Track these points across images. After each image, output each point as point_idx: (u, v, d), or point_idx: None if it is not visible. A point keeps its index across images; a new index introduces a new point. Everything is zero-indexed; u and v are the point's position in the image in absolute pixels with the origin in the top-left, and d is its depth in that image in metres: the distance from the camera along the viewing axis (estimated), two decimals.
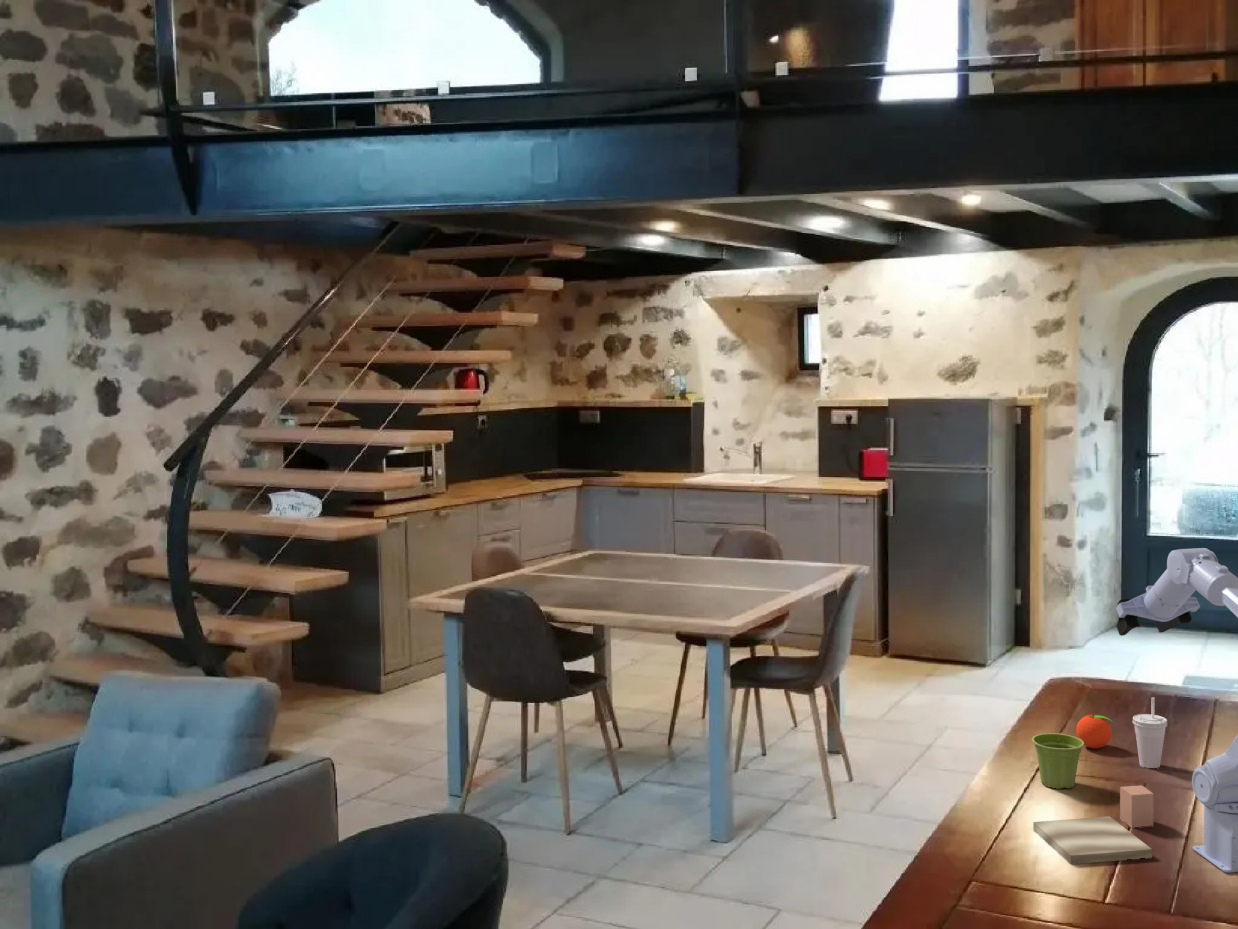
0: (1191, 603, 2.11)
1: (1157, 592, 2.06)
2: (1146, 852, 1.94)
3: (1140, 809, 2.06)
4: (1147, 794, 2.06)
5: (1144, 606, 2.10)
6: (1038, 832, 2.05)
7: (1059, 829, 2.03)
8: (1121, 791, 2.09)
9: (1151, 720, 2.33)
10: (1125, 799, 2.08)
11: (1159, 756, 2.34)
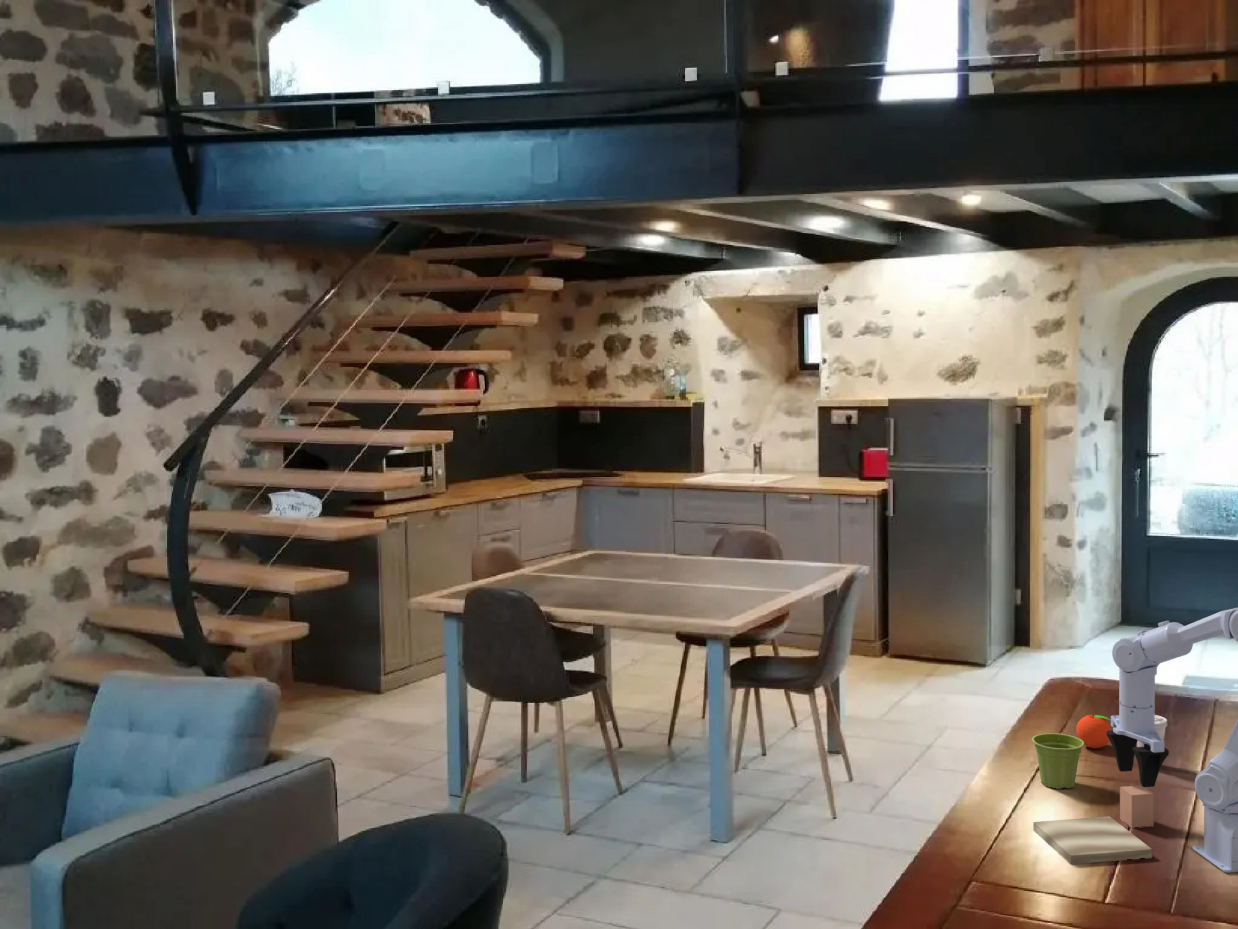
0: None
1: (1127, 702, 2.05)
2: (1146, 852, 1.94)
3: (1140, 808, 2.06)
4: (1147, 793, 2.06)
5: (1146, 733, 2.04)
6: (1038, 832, 2.05)
7: (1059, 829, 2.03)
8: (1121, 791, 2.09)
9: None
10: (1125, 799, 2.08)
11: None
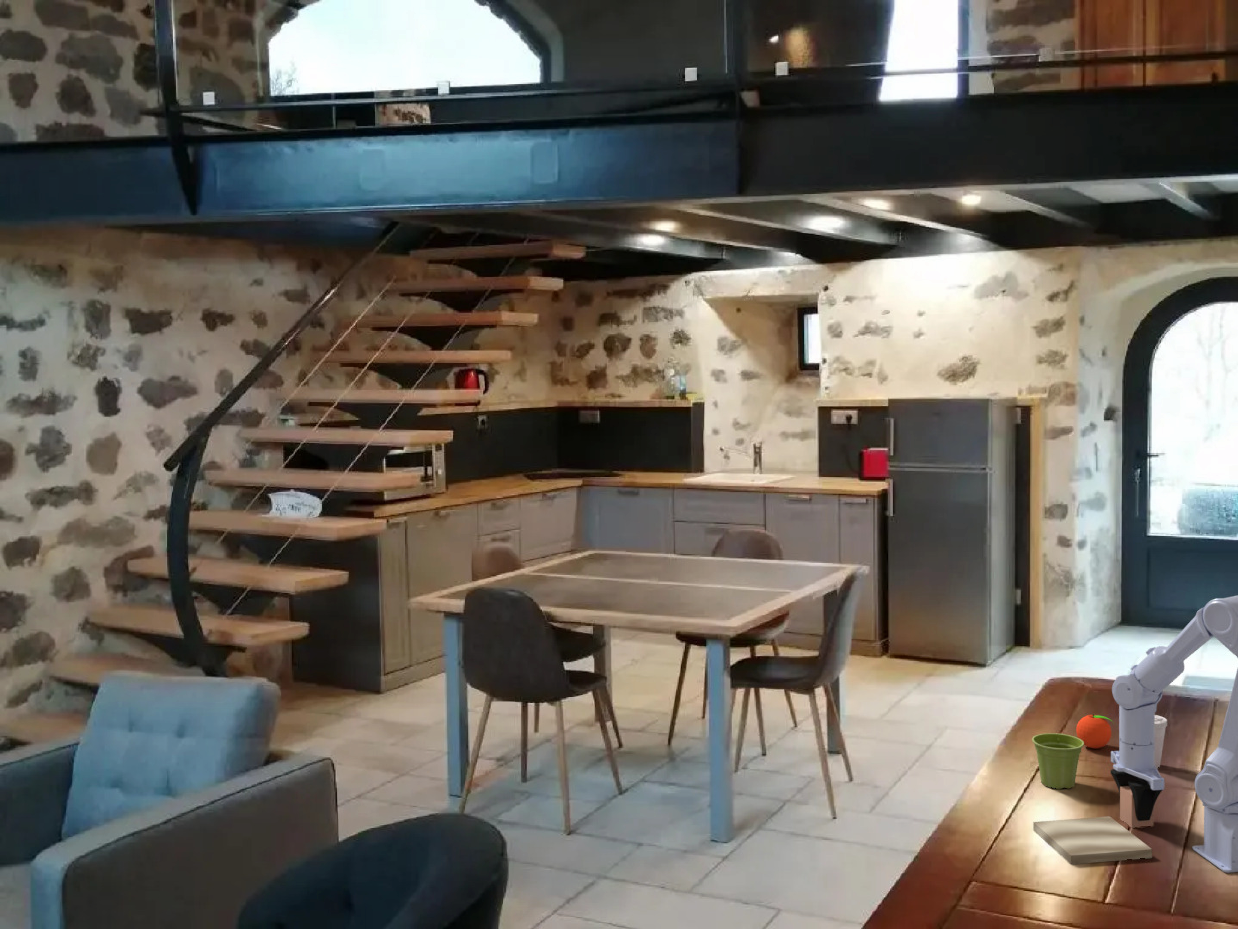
0: None
1: (1127, 739, 2.05)
2: (1146, 852, 1.94)
3: None
4: None
5: (1146, 770, 2.04)
6: (1038, 832, 2.05)
7: (1059, 829, 2.03)
8: (1121, 791, 2.09)
9: None
10: (1125, 798, 2.08)
11: (1159, 756, 2.34)
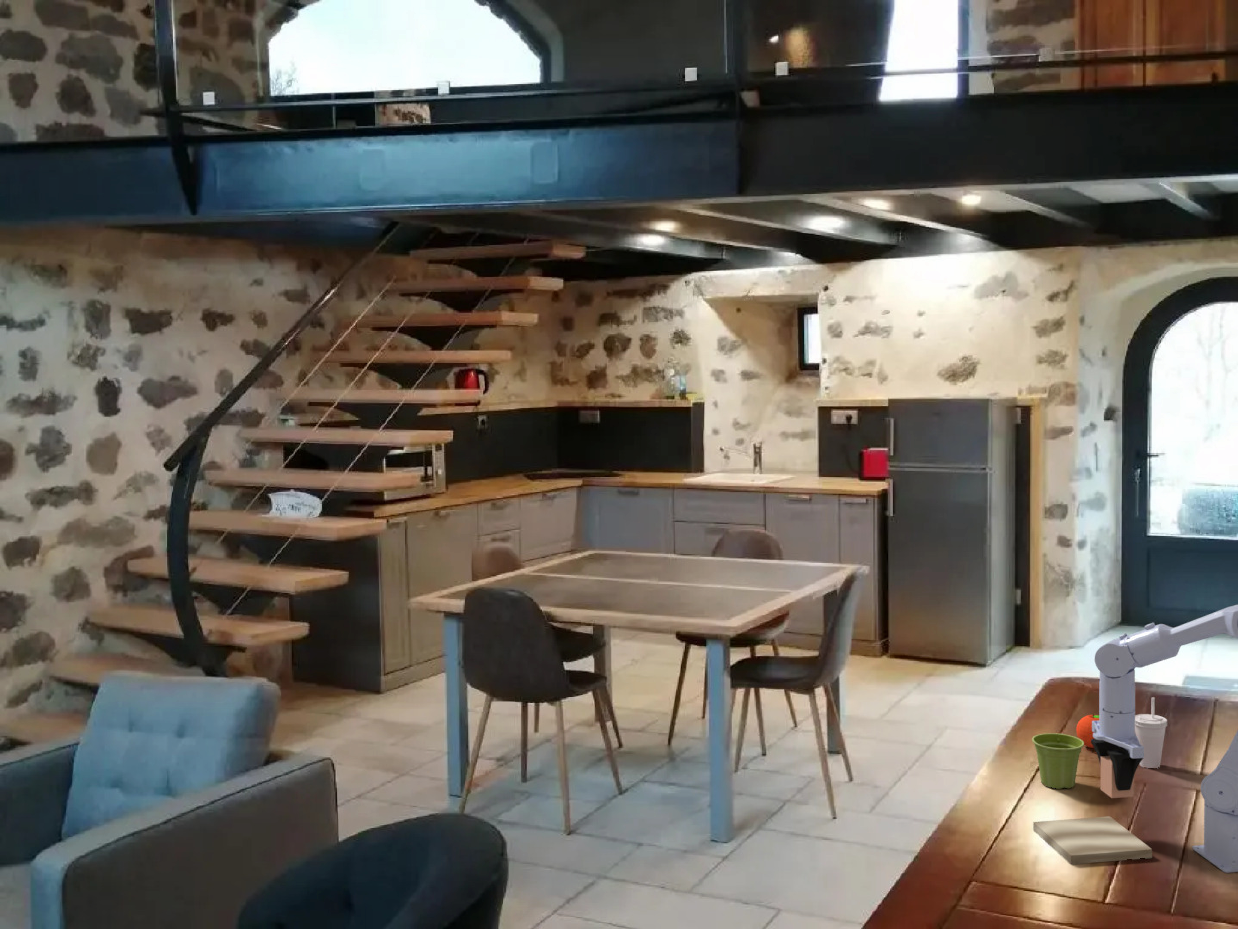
0: None
1: (1112, 708, 2.00)
2: (1146, 852, 1.94)
3: None
4: None
5: (1126, 739, 2.00)
6: (1038, 832, 2.05)
7: (1059, 829, 2.03)
8: (1101, 761, 2.05)
9: (1151, 720, 2.33)
10: (1105, 768, 2.04)
11: (1159, 756, 2.34)
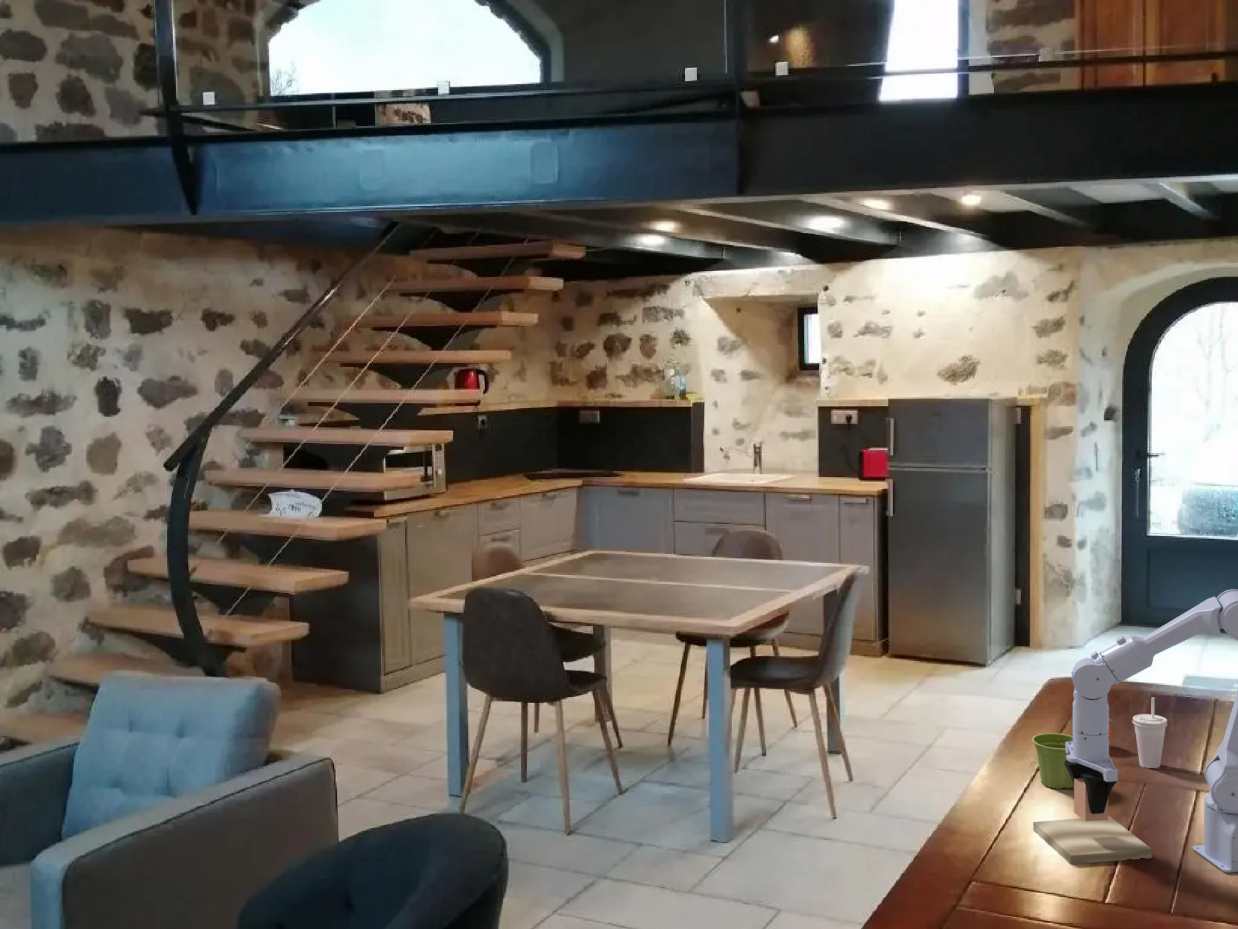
0: None
1: (1092, 731, 1.96)
2: (1146, 852, 1.94)
3: None
4: None
5: (1100, 761, 1.96)
6: (1038, 832, 2.05)
7: (1059, 829, 2.03)
8: (1075, 783, 2.01)
9: (1151, 720, 2.33)
10: (1079, 791, 1.99)
11: (1159, 756, 2.34)
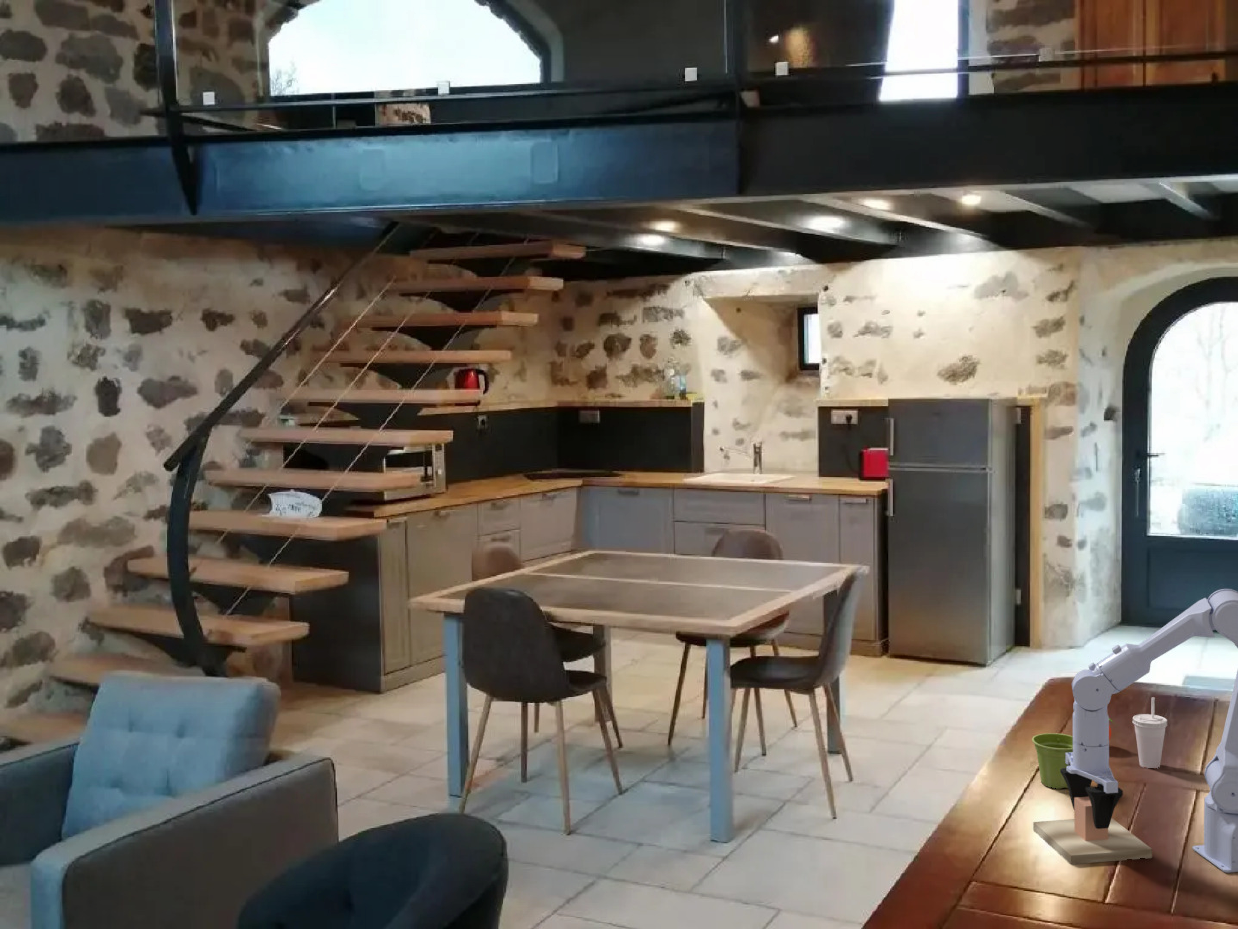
0: None
1: (1092, 742, 1.96)
2: (1146, 852, 1.94)
3: None
4: None
5: (1100, 772, 1.96)
6: (1038, 832, 2.05)
7: (1059, 829, 2.03)
8: (1075, 802, 2.01)
9: (1151, 720, 2.33)
10: (1079, 810, 2.00)
11: (1159, 756, 2.34)
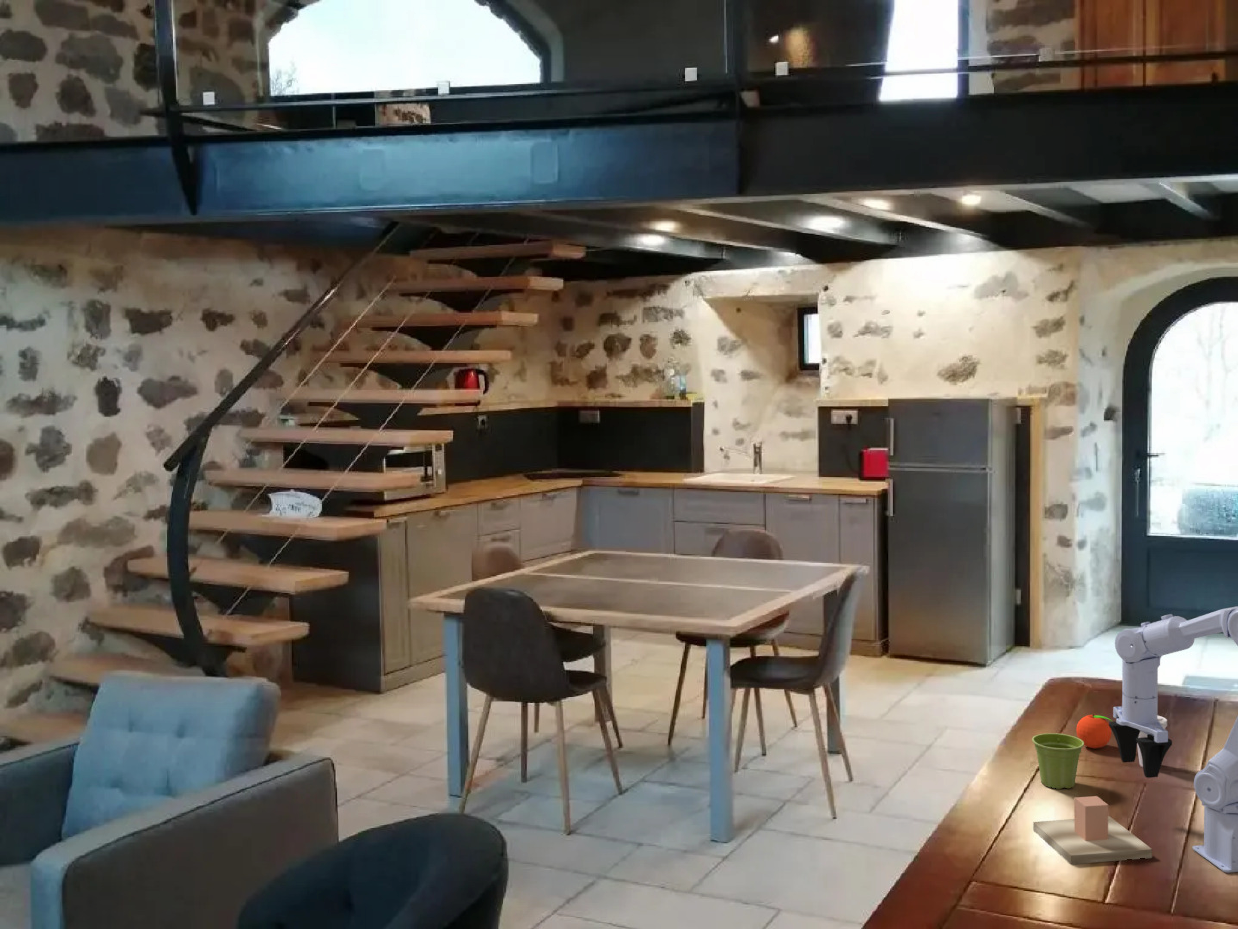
0: None
1: (1129, 693, 2.06)
2: (1146, 852, 1.94)
3: (1094, 820, 1.98)
4: (1101, 805, 1.98)
5: (1149, 723, 2.05)
6: (1038, 832, 2.05)
7: (1059, 829, 2.03)
8: (1075, 802, 2.01)
9: None
10: (1079, 810, 2.00)
11: None
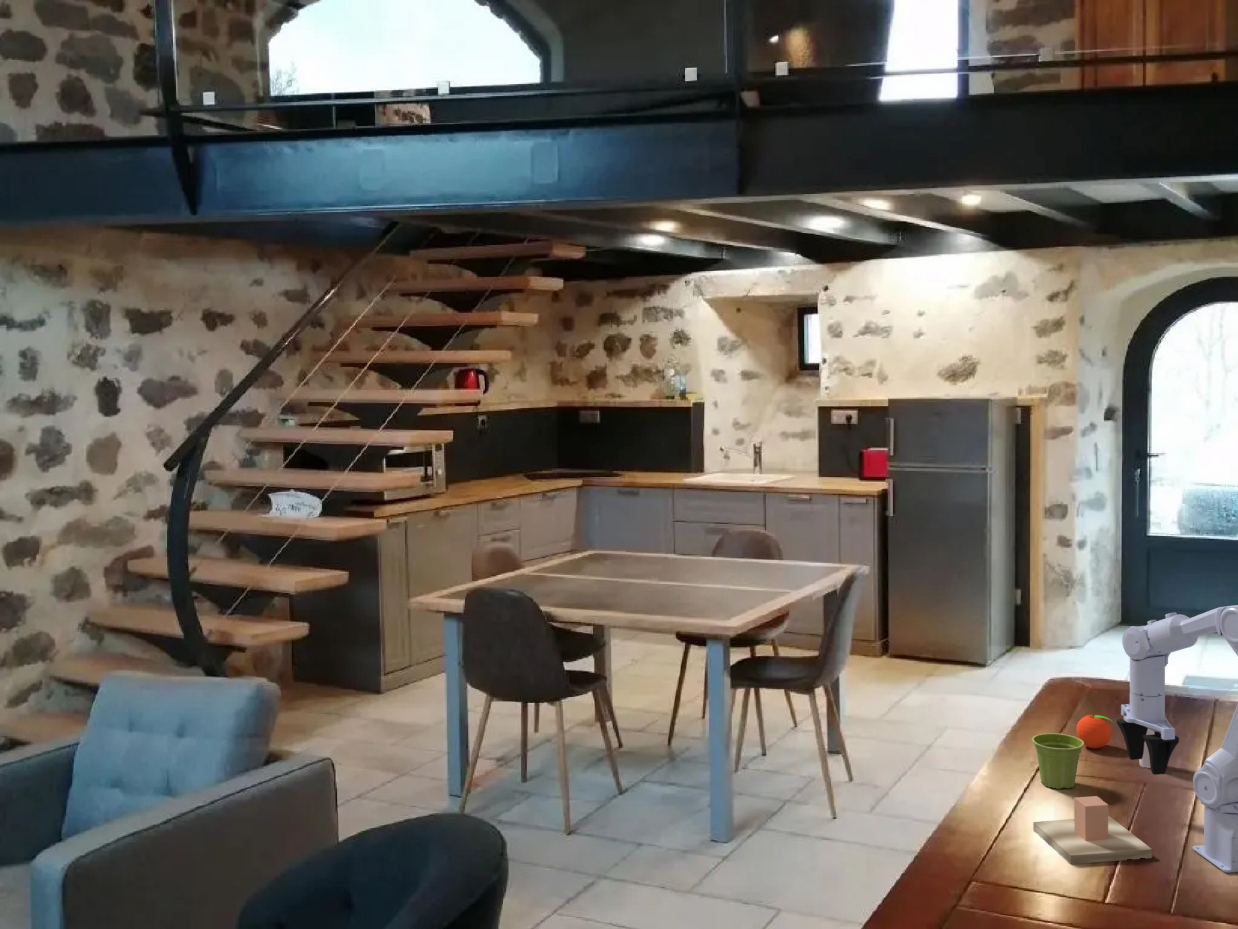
0: (1130, 707, 2.15)
1: (1135, 690, 2.07)
2: (1146, 852, 1.94)
3: (1094, 820, 1.98)
4: (1101, 805, 1.98)
5: (1156, 721, 2.06)
6: (1038, 832, 2.05)
7: (1059, 829, 2.03)
8: (1075, 802, 2.01)
9: None
10: (1079, 810, 2.00)
11: None
